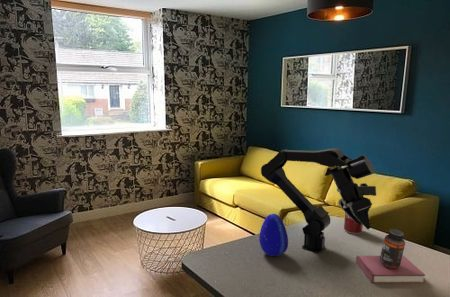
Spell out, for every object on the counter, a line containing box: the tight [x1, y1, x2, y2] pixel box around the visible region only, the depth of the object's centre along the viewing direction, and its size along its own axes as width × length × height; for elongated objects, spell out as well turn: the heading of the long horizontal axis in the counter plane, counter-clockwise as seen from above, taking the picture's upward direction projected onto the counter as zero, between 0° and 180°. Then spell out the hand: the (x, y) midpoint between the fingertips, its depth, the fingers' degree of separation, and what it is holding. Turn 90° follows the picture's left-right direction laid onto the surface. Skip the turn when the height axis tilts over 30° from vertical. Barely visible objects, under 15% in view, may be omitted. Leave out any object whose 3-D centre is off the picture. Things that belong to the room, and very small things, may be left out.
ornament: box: [258, 213, 289, 257], centre depth 118 cm, size 11×9×15 cm
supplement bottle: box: [379, 228, 406, 269], centre depth 104 cm, size 6×6×11 cm
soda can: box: [343, 211, 364, 235], centre depth 138 cm, size 7×7×12 cm
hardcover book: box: [355, 255, 426, 284], centre depth 106 cm, size 16×12×3 cm
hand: (364, 226), depth 112 cm, fingers open, 9 cm apart
